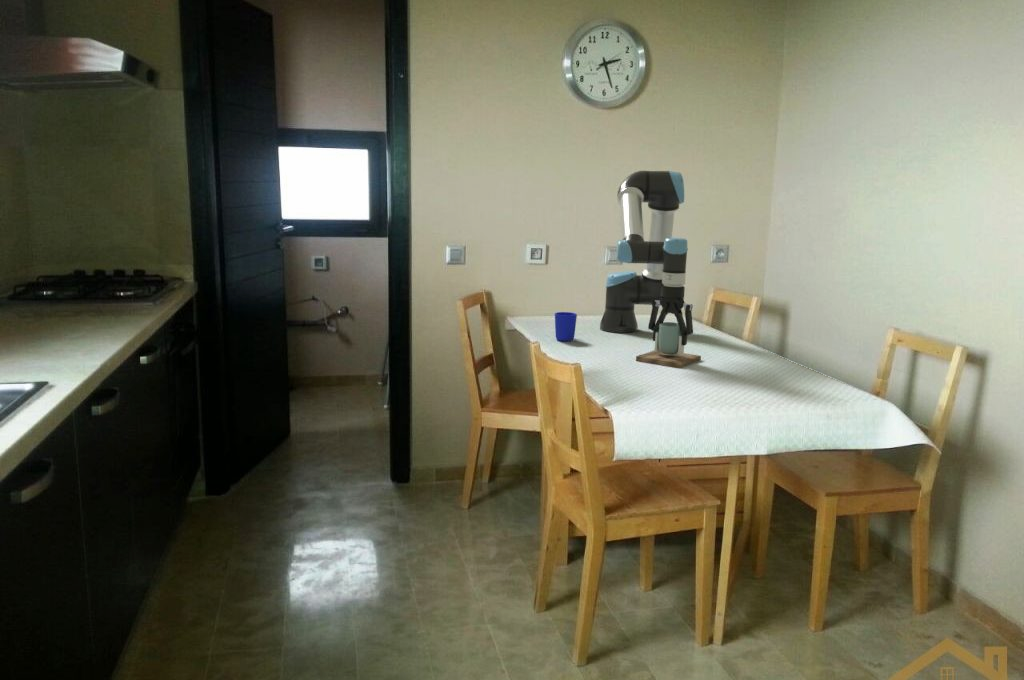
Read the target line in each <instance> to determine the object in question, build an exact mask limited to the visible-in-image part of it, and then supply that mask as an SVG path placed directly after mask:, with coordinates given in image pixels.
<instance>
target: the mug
mask: <svg viewBox="0 0 1024 680" xmlns="http://www.w3.org/2000/svg"><path fill="white" fill-rule="evenodd" d="M577 316H578V314H577V313H575V312H571V311H570V312H568V311H566V312H565V311H561V312H555V313H554V325H555V326H554V329H555V331H554V332H555V338H556V340H557V341H559V342H571V341H573V340H574V339H575V334H576V325H577V319H578V318H577Z"/></svg>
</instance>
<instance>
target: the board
mask: <svg viewBox="0 0 1024 680" xmlns="http://www.w3.org/2000/svg"><path fill="white" fill-rule="evenodd" d="M635 361H636V362H642V363H646V364H647V363H648V364H653V365H654V364H655V365H660V366H664V367H665V366H666V367H671V368H678V369H681V368H684V367H687V366H689V365H693V364H694V363H696V362H699V361H702V356H701V355H699V354H691V353H686V352H684V354H683V355H678V353H676V354H673V355H668V354H663V353H662V352H661V351H657V352H655V349H654V350H650V351H648V352H645V353H642V354H638V355H636V357H635Z"/></svg>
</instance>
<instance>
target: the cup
mask: <svg viewBox="0 0 1024 680" xmlns="http://www.w3.org/2000/svg"><path fill="white" fill-rule="evenodd" d="M680 335H682V334H681V331H680V327H679V325H678V322H672V321H670V322H669V321H665V322H664V321H663V323H660V324H659V332H658V345H659V349H660V351H661V352H662V353H663V354H668V355H673V354H676V353H678V347H679V336H680Z"/></svg>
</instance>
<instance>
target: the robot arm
mask: <svg viewBox="0 0 1024 680" xmlns="http://www.w3.org/2000/svg"><path fill="white" fill-rule="evenodd" d="M617 202H618V205H619V206H620V218H621V219H620V221H621V222H620V223H621V224H620V225H621V240H618V241H617V243H616V261H617V262H619V263H623V264H624V263H625V264H646V267H645V268H644V269H643V270H642V272H641V275H637V272H636V271H626V270H625V271H618V272H613V273H610V274H608V275H607V276H606V284H605V305H604V306H605V307H604V313H603V315H602V318H601V320H600V323H599V329H600V330H601V331H603V332H604V331H605V332H609V333H619V334H623V333H635V332H637V331H638V330H639V328H638V327H639V324H638V321H637V317H636V313H635V305H641V306H643V305H645V306H651V307H652V308H651V313H650V318H649V323H648V327H647V328H648V330H650V331H652V332H653V333H652V340H653V342H654V350H655V352H657V351H660V349H659V345H658V332H659V324H660V323H663V322H664V321H665V319H666V317H667V315H668V314H673V315H674V317H675V318H676V323H678V325H679V327H680V331H681V334H682V335H680V336H679V347H678V355H683V354H684V353H685V346H686V345H688V336H691V335H693V334H694V325H693V313H692V311H693V310H692V309H693V304H690V303H689V304H688V303H686V302H685V300H684V299H685V291H686V289H685V288H686V287H685V284H686V270H687V258H688V250H689V249H688V240H687V239H686V238H683V237H682V238H681V237H673V230H674V229H673V228H674V219H675V213H676V211H678V210H679V209H680V205H681V204H684V202H685V183H684V178H683V174H682V173H681V172H679V171H671V170H638V171H634V172H633V173H631V174H630V175H628V176H627V177H625V178H624V180H623V181H622V182H621V184H620V185H619V187H618V190H617ZM643 203H647V207H648V209H649V210H650V211H651V213H650V214H651V215H650V223H649V224H650V226H649V237H648V241H647V240H646V241H645V236H644V235H645V234H644V233H645V232H644V219H643V209H642V204H643ZM660 306H661V307H662V309H661V310H660V314H659V316H658V313H659V309H660ZM682 309H683V310H684V316H683V311H682ZM684 317H685V319H684Z"/></svg>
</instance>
